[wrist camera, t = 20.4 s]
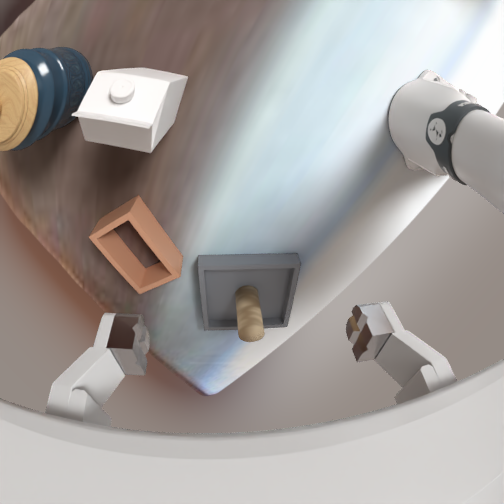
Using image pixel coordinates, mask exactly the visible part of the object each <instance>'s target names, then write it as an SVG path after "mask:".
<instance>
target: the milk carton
mask: <svg viewBox="0 0 504 504" xmlns="http://www.w3.org/2000/svg"><path fill="white" fill-rule="evenodd" d="M187 79H188V77H187V76H184V75H179V74H174V73H170V72H164V71H159V70H154V69H148V68H126V69H114V70H104V71H99V72H98V73H97V74H96V76H95V78H94V80H93V81H92V83H91V85H90V87H89V89H88V91H87V93H86V95H85V96H84V98H83V100H82V102H81V104H80V106H79V109H78V111H77V112H75V113H72V116H76V117H78V118H79V122H80V125H81V128H82V132H83V135H84V138H85V140H86V141H90V142H96V143H102V144H107V145H112V146H118V147H123V148H128V149H133V150H138V151H143V152H148V153H151V152H152V151H153V149H154V148H155V147H156V145H157V144H158V143H159V141H160V140H161V139H162V138H163V136H164V135H165V134H166V132H167V131H168V130H169V129H170V127H171V126H172V125H173V124H174V122H175V118H176V115H177V111H178V108H179V105H180V101H181V98H182V95H183V92H184V89H185V85H186V82H187Z"/></svg>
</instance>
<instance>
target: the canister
mask: <svg viewBox="0 0 504 504" xmlns="http://www.w3.org/2000/svg"><path fill="white" fill-rule="evenodd" d="M92 81H93V76H92V70H91V67H90V64H89V62H88V61H87V59H86V58H85V57H84V56H83V55H82V54H81V53H79V52H78V51H76V50H74V49H71V48H67V47H56V48H52V49H45V48H34V49H20V50H16V51H14V52H12V53H10V54H8V55H7V56H5V57H4V58H3V59H2V60H0V151H7V150H12V151H16V150H22V149H24V148H27V147H29V146H30V145H32V144H33V143H34V142H35V141H37V140H40V139H42V138H44V137H45V136H47V135H48V134H49V133H50V132H52V131H53V130H55V129H59V128H61V127H63V126H65V125H67V124H69V123H70V122H71V121H73V120H74V119H75V118H76V116H72V113H75V112H77V111H78V109H79V106H80V104H81V102H82V100H83V98H84V96H85V95H86V93H87V91H88V89H89V87H90V85H91V83H92Z"/></svg>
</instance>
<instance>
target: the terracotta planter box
mask: <svg viewBox="0 0 504 504" xmlns="http://www.w3.org/2000/svg"><path fill="white" fill-rule="evenodd" d="M127 220H129V221H130V223H131V224H132V225H133V226H134V228H135V229H136V230H137V232H138V233H139V234H140V236H141V237H142V238H143V239H144V241H145V242H146V243H147V245H148V246H149V247H150V248H151V250H152V251H153V252H154V253H155V255H156V256H157V257H158V258H159V260H160V261H161V262H158V263H156V264H154V265H152V266H150V267H148V268H145V267H144V266H143V265H142V264H141V262H140V261H139V260H138V259H137V258H136V256H135V255H134V254H133V253H132V252H131V250H130V249H129V248H128V247H127V246H126V244H125V243H124V242H123V241H122V239H121V238H120V237H119V236H118V234H117V233H116V232H115V231H114V228H116V227H117V226H119V225H121V224H122V223H124V222H126V221H127ZM89 238H90V239H91V240H92V242H93V243H94V244H95V245H96V246H97V248H98V249H99V250H100V251H101V252H102V253H103V255H104V256H105V257H106V258H107V259H108V260H109V261H110V263H111V264H112V265H113V266H114V267H115V268H116V269H117V270H118V272H119V273H120V274H121V275H122V276H123V277H124V278H125V279H126V280H127V281H128V283H129V284H130V285H131V286H132V287H133V288H134V289H135V290H136V291H137V292H138V293H139V294H141V293H144V292H146V291H148V290H151V289H153V288H155V287H158V286H160V285H162V284H165V283H167V282H169V281H172V280H174V279H176V278H179V277H180V276H181V268H182V261H183V255H182V254H181V253H180V251H179V250H178V249H177V247H176V246H175V245H174V243H173V242H172V241H171V239H170V238H169V237H168V235H167V234H166V233H165V231H164V230H163V228H162V227H161V226H160V224H159V223H158V222H157V220H156V219H155V217H154V216H153V215H152V213H151V212H150V210H149V209H148V208H147V206H146V205H145V203H144V202H143V200H142V199H141V198H140V196H139V195H138V196H136V197H134V198H133V199H131V200H129V201H128V202H126V203H124V204H123V205H121V206H120V207H118V208H116V209H115V210H113V211H112V212H110V213H108V214H107V215H105V216H104V217H102V218H101V219H99V221H98V223H97V224H96V226H95V228H94V229H93V231H92V233H91V234H90V236H89Z"/></svg>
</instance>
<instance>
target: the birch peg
mask: <svg viewBox="0 0 504 504" xmlns="http://www.w3.org/2000/svg"><path fill="white" fill-rule="evenodd" d="M235 297H236V310H237V322H238V334H239V338H240V339H241V340H243V341H246V342H253V341H257V340H260V339H261V338H262V337H263V336H264V327H263V321H262V314H261V308H260V302H259V295H258V290H257V289H256V288H255V287H253V286H249V285H247V286H242V287H240V288H238V289H237V290H236V292H235Z"/></svg>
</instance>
